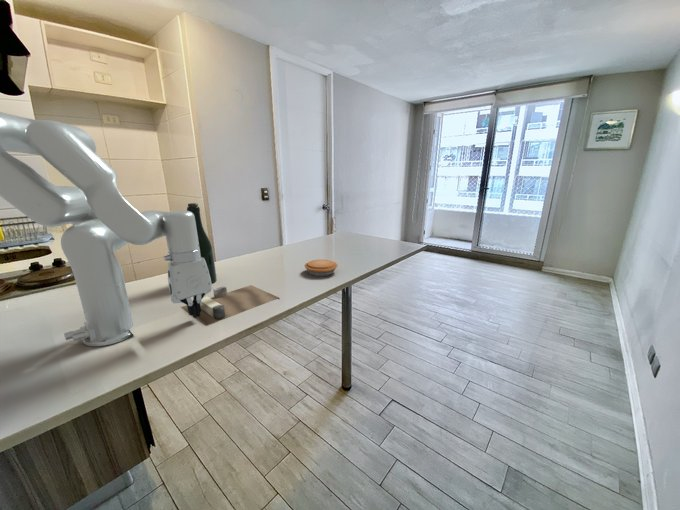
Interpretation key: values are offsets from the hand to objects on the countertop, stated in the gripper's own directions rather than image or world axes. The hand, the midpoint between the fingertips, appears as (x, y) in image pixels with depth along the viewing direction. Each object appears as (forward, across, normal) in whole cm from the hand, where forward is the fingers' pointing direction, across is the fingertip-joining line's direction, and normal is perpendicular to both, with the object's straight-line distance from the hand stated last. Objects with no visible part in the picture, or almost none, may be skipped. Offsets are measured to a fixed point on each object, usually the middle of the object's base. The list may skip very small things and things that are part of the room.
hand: (195, 315), depth 82 cm
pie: (+4, +60, +6) cm, 60 cm away
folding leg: (+1, +6, +3) cm, 6 cm away
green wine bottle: (+3, +16, +30) cm, 34 cm away
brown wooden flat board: (+3, +14, +4) cm, 14 cm away
